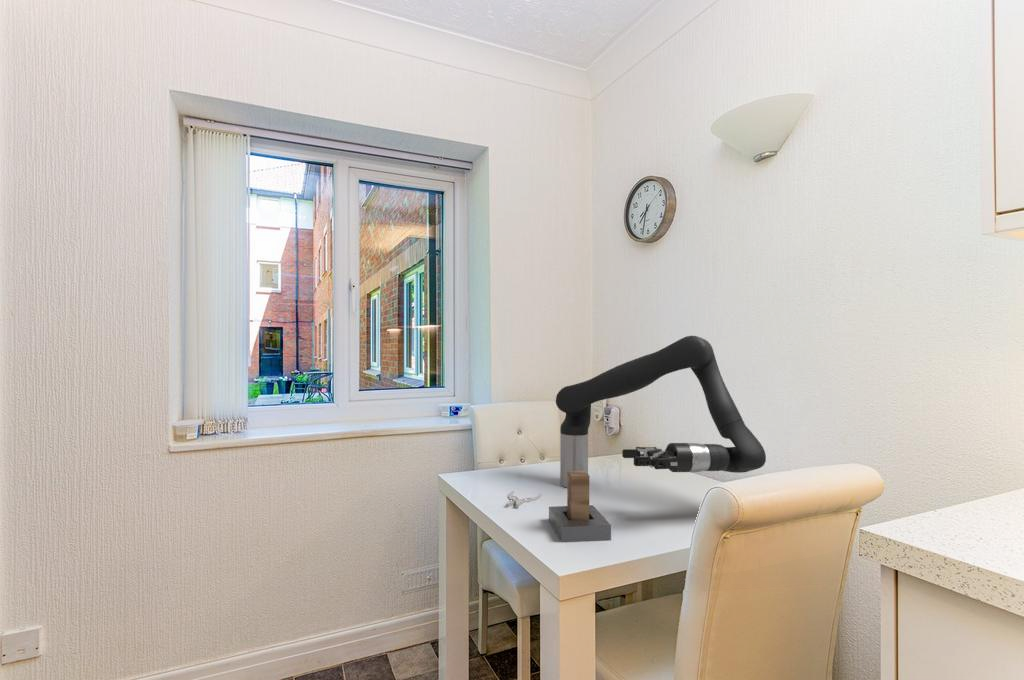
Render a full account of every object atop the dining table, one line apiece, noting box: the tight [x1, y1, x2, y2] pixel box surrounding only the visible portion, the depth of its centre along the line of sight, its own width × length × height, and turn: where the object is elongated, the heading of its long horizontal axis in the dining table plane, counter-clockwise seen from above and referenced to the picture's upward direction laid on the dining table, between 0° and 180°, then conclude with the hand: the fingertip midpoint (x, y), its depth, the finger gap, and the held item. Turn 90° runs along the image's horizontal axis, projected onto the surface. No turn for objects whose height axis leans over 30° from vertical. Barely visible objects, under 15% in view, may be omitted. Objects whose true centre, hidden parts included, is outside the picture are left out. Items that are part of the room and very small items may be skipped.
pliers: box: [506, 490, 542, 510], centre depth 145 cm, size 10×2×15 cm
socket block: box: [548, 504, 612, 543], centre depth 122 cm, size 15×12×4 cm
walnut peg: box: [566, 471, 590, 520], centre depth 122 cm, size 4×4×14 cm
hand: (628, 457), depth 126 cm, fingers open, 8 cm apart
